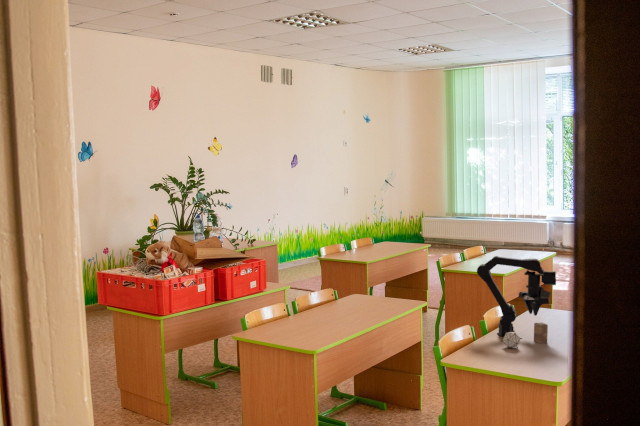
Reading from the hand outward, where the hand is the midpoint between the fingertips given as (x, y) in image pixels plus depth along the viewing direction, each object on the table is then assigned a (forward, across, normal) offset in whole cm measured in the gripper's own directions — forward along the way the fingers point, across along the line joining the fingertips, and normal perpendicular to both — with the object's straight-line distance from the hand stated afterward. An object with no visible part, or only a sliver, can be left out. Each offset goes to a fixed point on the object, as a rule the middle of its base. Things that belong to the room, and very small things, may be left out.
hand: (533, 314), depth 296 cm
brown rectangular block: (+12, -7, 0) cm, 14 cm away
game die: (+12, -14, +20) cm, 27 cm away
